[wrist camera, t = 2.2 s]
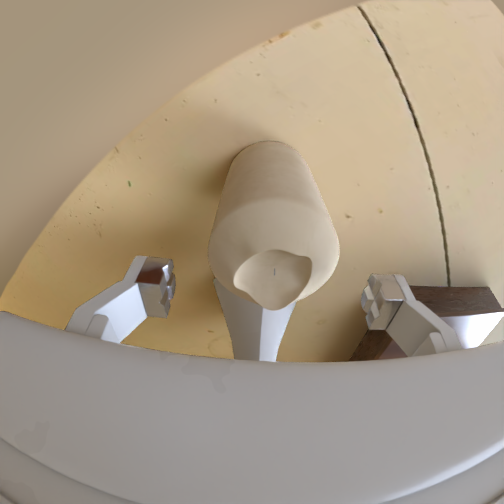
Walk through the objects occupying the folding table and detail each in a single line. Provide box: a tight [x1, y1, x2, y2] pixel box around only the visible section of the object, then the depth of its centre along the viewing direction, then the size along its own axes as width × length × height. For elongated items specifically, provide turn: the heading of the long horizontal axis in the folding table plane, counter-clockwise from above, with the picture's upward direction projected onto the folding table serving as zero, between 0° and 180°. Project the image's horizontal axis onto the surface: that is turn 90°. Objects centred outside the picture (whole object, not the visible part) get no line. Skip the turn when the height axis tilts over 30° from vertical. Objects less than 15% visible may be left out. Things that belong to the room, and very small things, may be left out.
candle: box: [208, 141, 339, 311], centre depth 14 cm, size 6×6×10 cm
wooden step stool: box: [348, 286, 504, 362], centre depth 25 cm, size 18×16×12 cm
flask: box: [213, 278, 296, 362], centre depth 20 cm, size 7×7×10 cm
